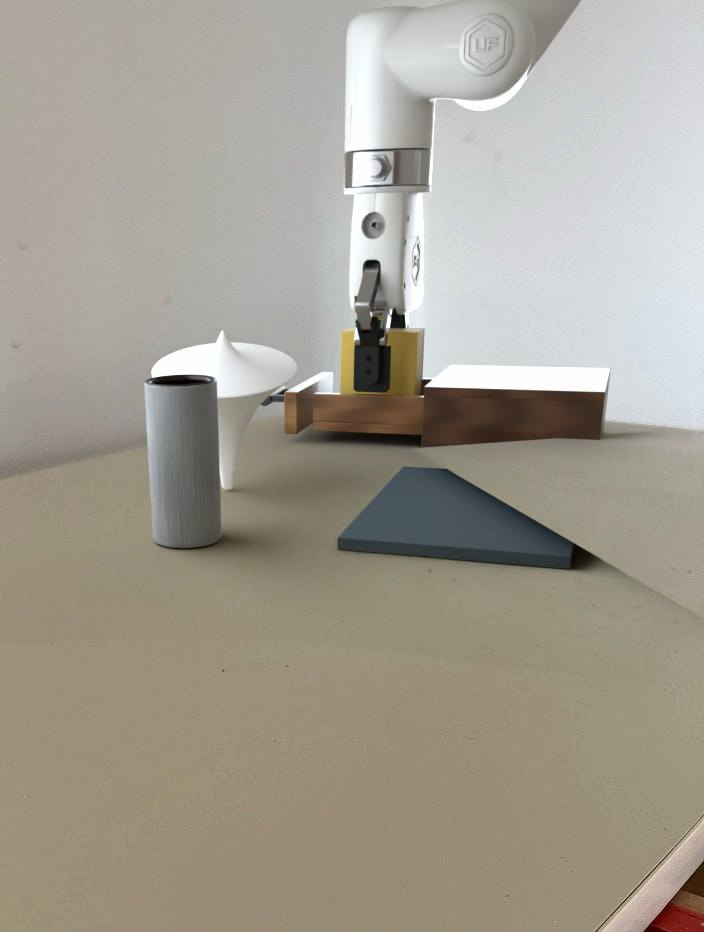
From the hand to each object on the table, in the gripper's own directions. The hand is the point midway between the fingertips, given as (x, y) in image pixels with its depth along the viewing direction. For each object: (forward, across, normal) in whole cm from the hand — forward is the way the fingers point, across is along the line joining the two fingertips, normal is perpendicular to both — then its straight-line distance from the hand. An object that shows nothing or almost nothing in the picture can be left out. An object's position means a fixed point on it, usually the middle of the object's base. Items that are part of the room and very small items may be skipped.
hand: (381, 383), depth 96 cm
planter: (+5, -36, +5) cm, 37 cm away
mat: (+5, -26, -12) cm, 29 cm away
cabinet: (+5, 0, -12) cm, 13 cm away
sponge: (+3, 0, 0) cm, 3 cm away
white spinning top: (+5, -23, +7) cm, 25 cm away
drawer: (+4, 0, +3) cm, 5 cm away
